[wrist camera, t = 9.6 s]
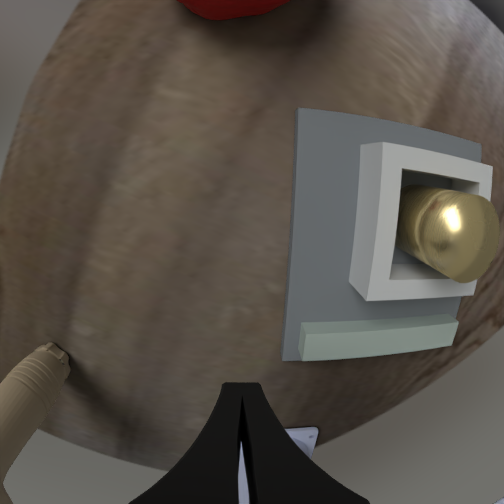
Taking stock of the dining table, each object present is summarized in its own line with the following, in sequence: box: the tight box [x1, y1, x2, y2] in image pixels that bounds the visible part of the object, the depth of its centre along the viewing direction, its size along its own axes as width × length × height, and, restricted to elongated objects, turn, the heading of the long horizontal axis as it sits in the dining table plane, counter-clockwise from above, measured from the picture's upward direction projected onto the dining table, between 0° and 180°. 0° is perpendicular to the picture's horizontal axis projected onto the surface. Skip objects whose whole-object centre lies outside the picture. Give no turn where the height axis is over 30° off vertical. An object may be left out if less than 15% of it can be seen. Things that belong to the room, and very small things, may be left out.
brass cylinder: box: [395, 184, 500, 283], centre depth 15 cm, size 4×4×6 cm
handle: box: [0, 343, 71, 504], centre depth 13 cm, size 5×6×15 cm
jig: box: [280, 108, 493, 361], centre depth 17 cm, size 16×14×4 cm
